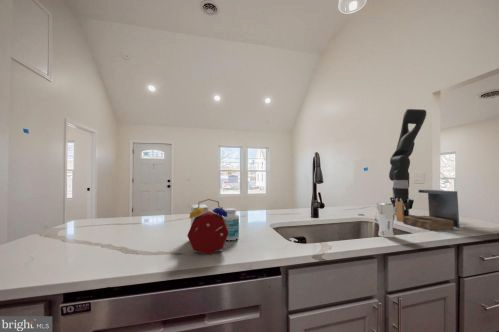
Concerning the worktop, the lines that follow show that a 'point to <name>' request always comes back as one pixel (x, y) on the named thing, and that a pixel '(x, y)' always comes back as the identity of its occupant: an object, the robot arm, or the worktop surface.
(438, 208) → the thin grey panel
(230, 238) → the pill bottle
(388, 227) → the beer glass
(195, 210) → the alarm clock
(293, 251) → the worktop surface
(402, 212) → the peg
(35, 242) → the worktop surface
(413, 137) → the robot arm
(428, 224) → the socket block
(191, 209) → the skincare box
